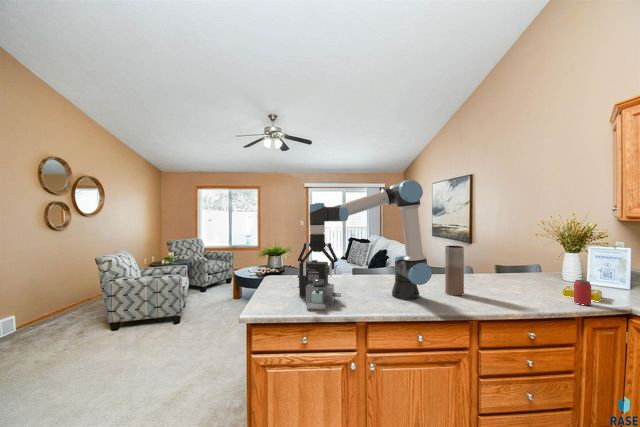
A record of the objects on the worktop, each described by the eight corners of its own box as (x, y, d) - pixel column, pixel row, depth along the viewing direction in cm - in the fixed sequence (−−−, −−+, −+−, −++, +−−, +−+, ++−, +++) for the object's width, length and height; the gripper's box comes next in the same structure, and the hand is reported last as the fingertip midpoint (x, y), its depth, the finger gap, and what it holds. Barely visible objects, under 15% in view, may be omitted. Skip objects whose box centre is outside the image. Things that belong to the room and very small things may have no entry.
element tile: (598, 303, 151) (598, 294, 151) (562, 297, 163) (562, 289, 163) (602, 298, 161) (602, 289, 161) (567, 292, 172) (567, 284, 172)
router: (328, 298, 161) (328, 262, 161) (296, 296, 165) (296, 261, 165) (330, 294, 169) (330, 260, 169) (300, 292, 173) (300, 259, 173)
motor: (341, 301, 155) (341, 278, 155) (338, 311, 139) (338, 286, 139) (309, 299, 158) (308, 277, 158) (301, 309, 142) (301, 285, 142)
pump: (323, 304, 148) (323, 287, 148) (321, 308, 142) (321, 290, 142) (313, 303, 149) (313, 287, 149) (311, 307, 143) (311, 290, 143)
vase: (464, 292, 171) (464, 246, 171) (462, 296, 163) (462, 247, 163) (446, 290, 176) (446, 245, 176) (444, 294, 168) (443, 246, 168)
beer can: (587, 307, 145) (587, 283, 145) (571, 303, 150) (571, 280, 151) (593, 305, 148) (593, 281, 148) (577, 301, 154) (577, 279, 154)
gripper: (342, 232, 147) (343, 274, 147) (295, 232, 151) (295, 273, 151) (341, 234, 140) (341, 277, 140) (291, 234, 144) (292, 276, 144)
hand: (317, 275), depth 145 cm, fingers open, 13 cm apart
